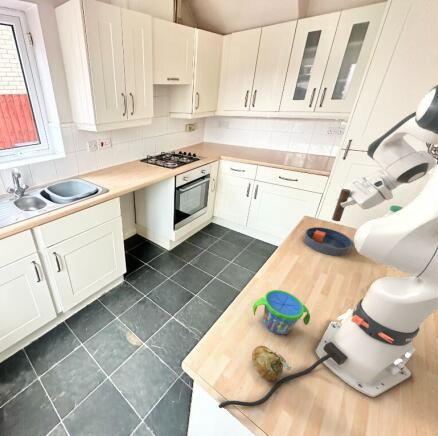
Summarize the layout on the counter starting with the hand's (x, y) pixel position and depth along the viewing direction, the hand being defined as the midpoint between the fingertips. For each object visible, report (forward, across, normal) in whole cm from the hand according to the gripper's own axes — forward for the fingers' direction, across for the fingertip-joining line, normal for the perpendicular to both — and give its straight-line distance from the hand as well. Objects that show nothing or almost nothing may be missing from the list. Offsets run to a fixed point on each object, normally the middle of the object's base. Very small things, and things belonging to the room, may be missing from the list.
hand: (339, 203), depth 103 cm
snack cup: (+34, +54, -3) cm, 64 cm away
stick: (+5, 0, +6) cm, 8 cm away
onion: (+38, +69, -6) cm, 79 cm away
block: (+16, -4, +14) cm, 22 cm away
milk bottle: (-2, -7, +33) cm, 33 cm away
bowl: (+15, -1, +16) cm, 22 cm away
